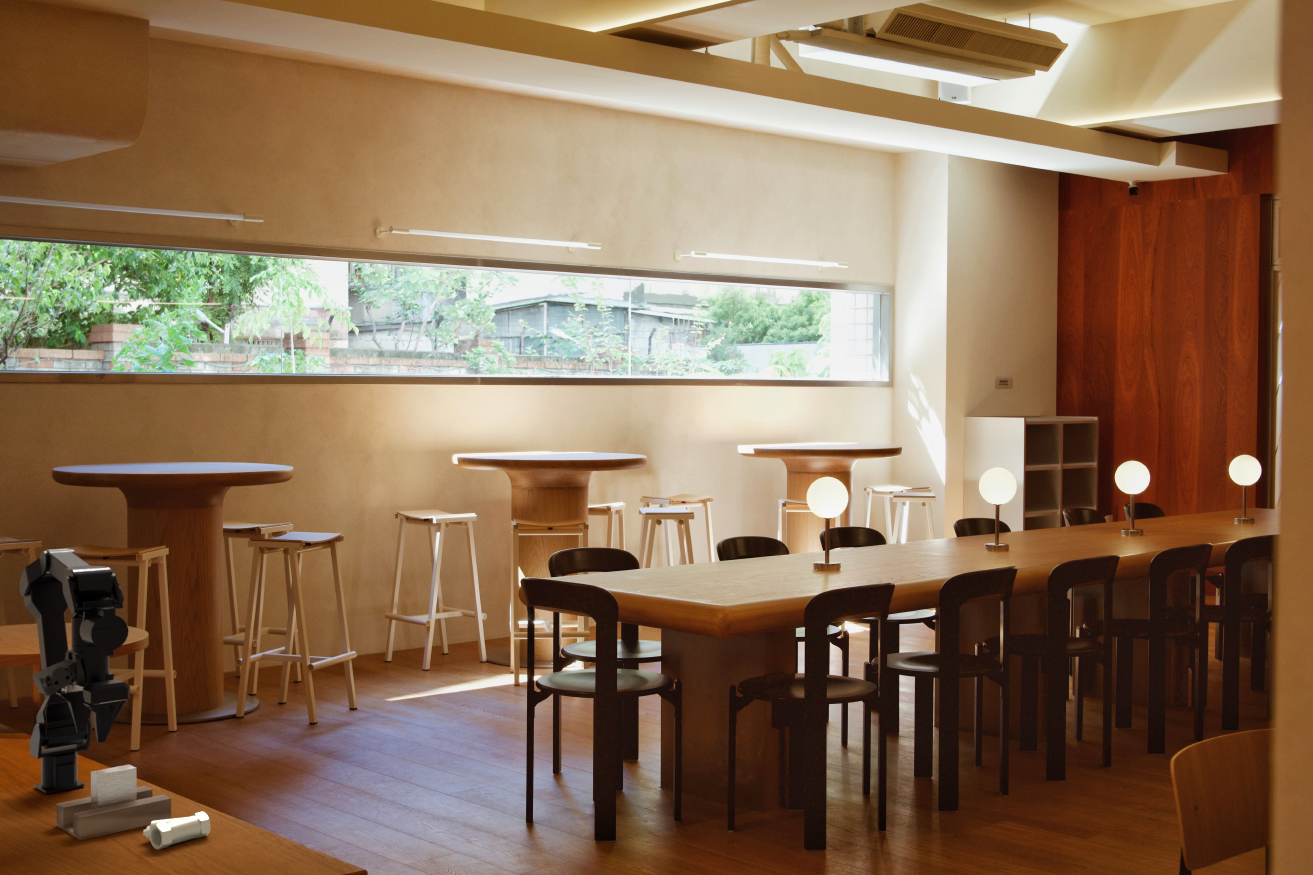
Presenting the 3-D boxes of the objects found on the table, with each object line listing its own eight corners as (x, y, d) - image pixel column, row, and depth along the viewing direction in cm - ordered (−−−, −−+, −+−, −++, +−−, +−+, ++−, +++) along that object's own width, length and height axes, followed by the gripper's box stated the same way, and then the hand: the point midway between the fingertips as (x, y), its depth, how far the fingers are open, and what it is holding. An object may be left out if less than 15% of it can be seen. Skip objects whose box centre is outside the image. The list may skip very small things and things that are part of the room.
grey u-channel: (56, 825, 192) (56, 803, 192) (145, 806, 202) (145, 785, 202) (80, 840, 185) (80, 817, 185) (171, 819, 195) (171, 798, 195)
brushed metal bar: (91, 821, 193) (90, 771, 193) (129, 813, 197) (129, 764, 197) (98, 825, 190) (97, 774, 191) (136, 817, 195) (136, 767, 195)
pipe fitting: (138, 846, 184) (163, 851, 180) (137, 820, 184) (161, 825, 180) (186, 832, 190) (211, 837, 186) (185, 807, 190) (209, 811, 186)
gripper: (19, 643, 202) (20, 736, 202) (58, 656, 189) (59, 756, 188) (89, 635, 210) (89, 725, 210) (131, 647, 196) (131, 743, 196)
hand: (90, 737), depth 201 cm, fingers open, 9 cm apart
